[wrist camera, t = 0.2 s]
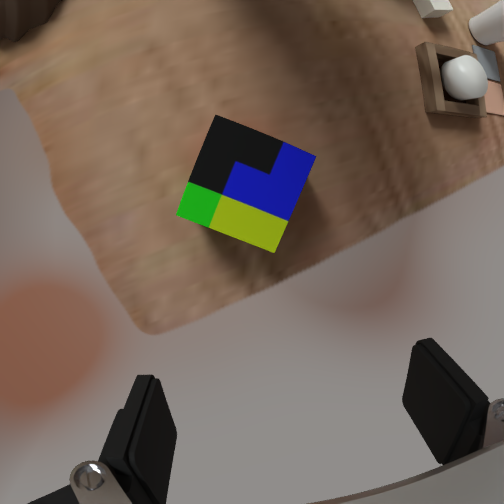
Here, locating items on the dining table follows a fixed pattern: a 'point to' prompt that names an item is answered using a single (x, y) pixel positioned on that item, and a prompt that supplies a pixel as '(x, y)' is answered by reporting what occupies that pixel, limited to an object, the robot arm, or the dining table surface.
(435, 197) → the dining table surface
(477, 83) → the dome button
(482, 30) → the drinking glass
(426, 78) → the button frame
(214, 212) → the puzzle toy
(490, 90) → the pad
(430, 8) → the white cube
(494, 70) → the pad mid
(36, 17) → the decorative dome
